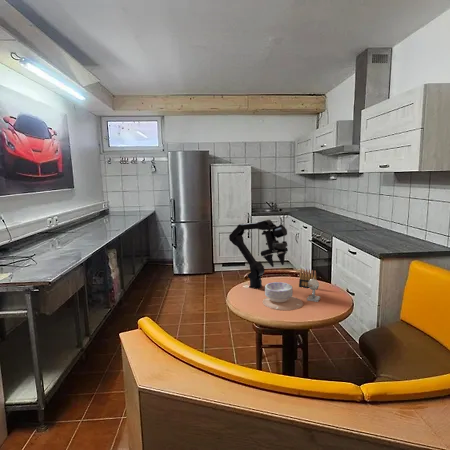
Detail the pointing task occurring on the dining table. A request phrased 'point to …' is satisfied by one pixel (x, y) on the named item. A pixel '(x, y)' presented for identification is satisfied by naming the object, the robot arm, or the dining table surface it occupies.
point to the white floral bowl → (278, 291)
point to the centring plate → (284, 304)
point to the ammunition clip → (306, 278)
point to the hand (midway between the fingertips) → (278, 265)
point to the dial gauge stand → (313, 290)
